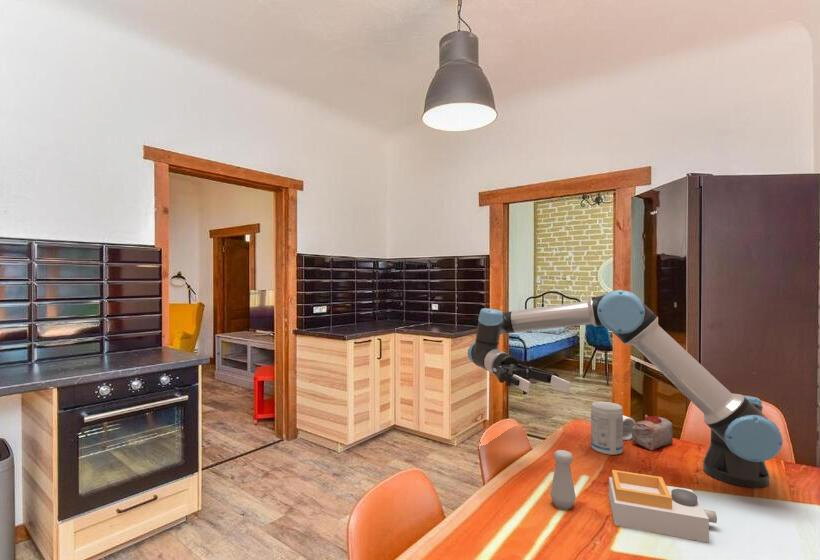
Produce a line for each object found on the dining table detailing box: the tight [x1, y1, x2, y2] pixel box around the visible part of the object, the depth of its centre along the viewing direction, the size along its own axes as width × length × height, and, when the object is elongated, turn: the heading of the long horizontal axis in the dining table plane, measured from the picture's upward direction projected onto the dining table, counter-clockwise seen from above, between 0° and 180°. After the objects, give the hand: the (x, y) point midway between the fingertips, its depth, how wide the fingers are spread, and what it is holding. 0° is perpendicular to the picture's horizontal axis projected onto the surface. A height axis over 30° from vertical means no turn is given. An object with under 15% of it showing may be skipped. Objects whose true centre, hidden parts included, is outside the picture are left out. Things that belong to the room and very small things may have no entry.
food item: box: [631, 414, 674, 451], centre depth 147 cm, size 14×8×10 cm, turn 122°
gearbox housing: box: [608, 469, 718, 544], centre depth 100 cm, size 21×14×8 cm, turn 70°
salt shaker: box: [549, 449, 577, 511], centre depth 106 cm, size 6×6×13 cm
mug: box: [623, 414, 637, 441], centre depth 155 cm, size 12×10×8 cm
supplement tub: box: [590, 401, 624, 456], centre depth 141 cm, size 10×10×15 cm
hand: (549, 387), depth 114 cm, fingers open, 13 cm apart
